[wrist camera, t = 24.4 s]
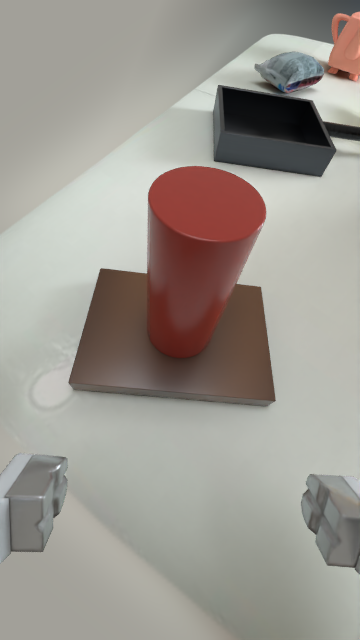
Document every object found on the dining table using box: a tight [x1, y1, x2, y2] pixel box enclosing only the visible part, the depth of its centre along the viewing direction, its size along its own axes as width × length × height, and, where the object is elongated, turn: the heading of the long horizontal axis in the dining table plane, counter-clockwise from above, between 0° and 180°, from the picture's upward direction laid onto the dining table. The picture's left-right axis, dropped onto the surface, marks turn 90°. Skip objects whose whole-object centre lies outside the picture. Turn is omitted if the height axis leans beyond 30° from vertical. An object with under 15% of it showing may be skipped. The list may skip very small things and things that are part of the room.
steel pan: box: [213, 85, 360, 177], centre depth 40 cm, size 24×15×4 cm, turn 87°
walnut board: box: [69, 268, 276, 406], centre depth 21 cm, size 14×10×2 cm
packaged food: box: [255, 52, 324, 93], centre depth 52 cm, size 9×12×5 cm
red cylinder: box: [147, 166, 266, 358], centre depth 16 cm, size 5×5×11 cm
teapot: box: [328, 12, 360, 81], centre depth 59 cm, size 14×12×10 cm
